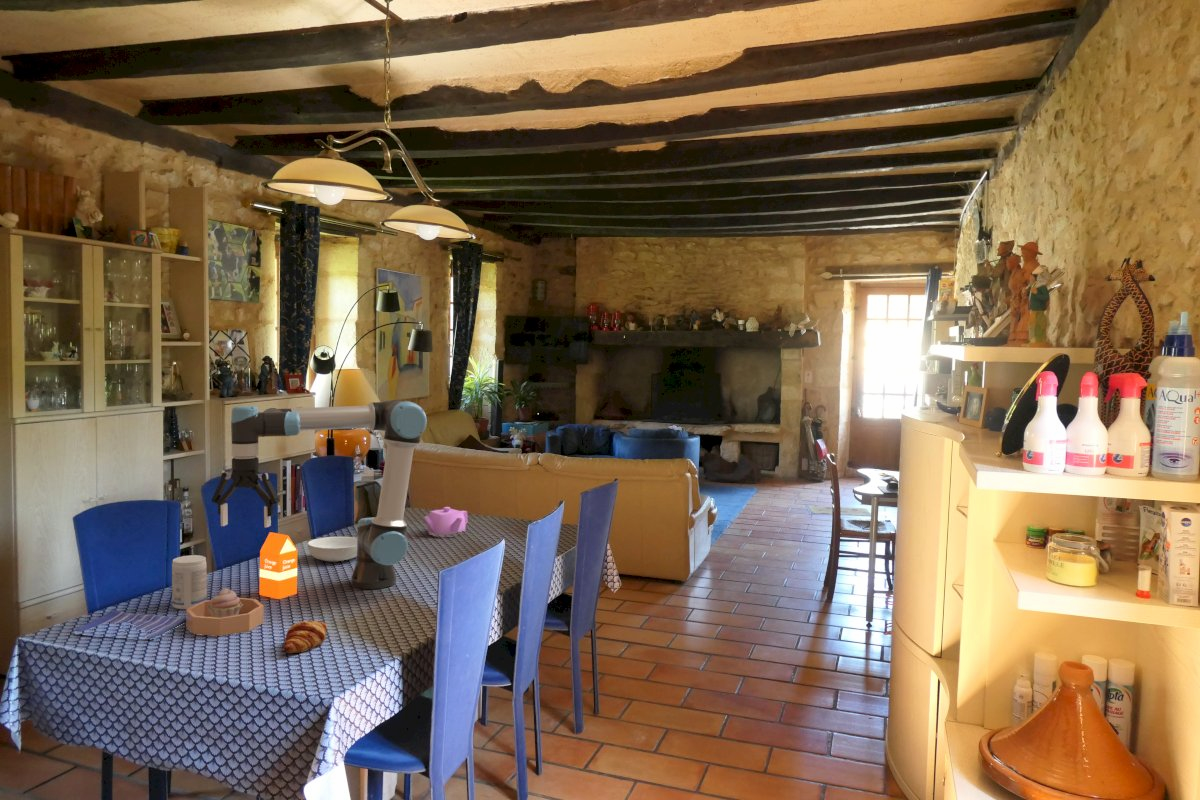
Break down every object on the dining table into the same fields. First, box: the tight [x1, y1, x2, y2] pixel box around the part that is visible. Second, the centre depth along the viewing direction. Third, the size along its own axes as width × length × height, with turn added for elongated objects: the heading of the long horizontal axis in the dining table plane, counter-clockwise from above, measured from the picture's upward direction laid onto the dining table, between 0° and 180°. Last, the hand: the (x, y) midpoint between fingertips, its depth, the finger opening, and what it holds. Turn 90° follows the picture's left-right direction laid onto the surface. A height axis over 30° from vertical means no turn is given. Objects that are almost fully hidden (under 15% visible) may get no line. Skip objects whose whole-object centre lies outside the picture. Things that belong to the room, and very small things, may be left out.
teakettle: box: [423, 506, 469, 535], centre depth 362 cm, size 17×17×12 cm
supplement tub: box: [171, 554, 208, 610], centre depth 251 cm, size 10×10×15 cm
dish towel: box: [74, 609, 186, 638], centre depth 230 cm, size 17×24×3 cm
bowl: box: [185, 597, 265, 637], centre depth 235 cm, size 19×19×5 cm
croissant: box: [282, 620, 328, 654], centre depth 223 cm, size 21×10×8 cm, turn 173°
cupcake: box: [207, 587, 243, 618], centre depth 235 cm, size 9×9×10 cm
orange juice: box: [259, 531, 299, 600], centre depth 266 cm, size 8×9×20 cm
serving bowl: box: [307, 536, 357, 563], centre depth 313 cm, size 21×21×7 cm
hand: (245, 526), depth 248 cm, fingers open, 13 cm apart
